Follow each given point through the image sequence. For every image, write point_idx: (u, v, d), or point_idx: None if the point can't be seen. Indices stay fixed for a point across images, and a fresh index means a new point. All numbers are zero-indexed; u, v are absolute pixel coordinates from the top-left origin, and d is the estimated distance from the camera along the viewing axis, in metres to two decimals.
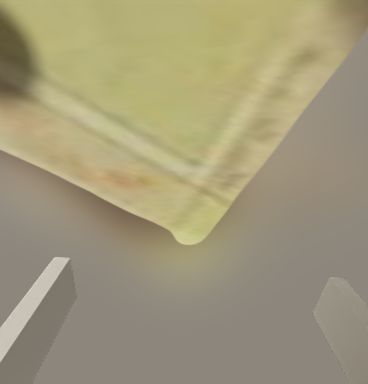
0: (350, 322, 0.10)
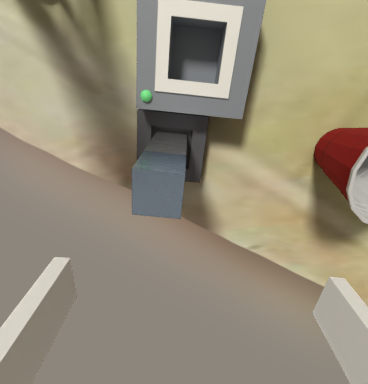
0: (350, 322, 0.10)
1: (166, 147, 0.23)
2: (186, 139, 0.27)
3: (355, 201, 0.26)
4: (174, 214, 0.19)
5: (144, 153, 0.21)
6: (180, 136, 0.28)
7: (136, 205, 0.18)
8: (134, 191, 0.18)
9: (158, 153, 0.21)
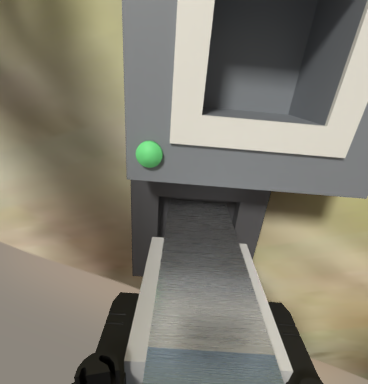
0: None
1: (206, 299, 0.09)
2: (235, 234, 0.13)
3: None
4: None
5: (150, 381, 0.06)
6: (218, 220, 0.14)
7: None
8: None
9: (193, 371, 0.07)
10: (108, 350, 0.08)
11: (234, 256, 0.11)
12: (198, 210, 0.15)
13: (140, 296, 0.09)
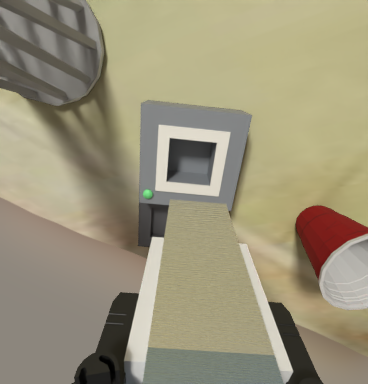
0: None
1: (205, 300, 0.09)
2: (235, 234, 0.13)
3: (328, 280, 0.30)
4: None
5: (150, 381, 0.06)
6: (218, 220, 0.14)
7: None
8: None
9: (193, 371, 0.07)
10: (108, 351, 0.08)
11: (234, 256, 0.11)
12: (198, 210, 0.15)
13: (140, 296, 0.09)
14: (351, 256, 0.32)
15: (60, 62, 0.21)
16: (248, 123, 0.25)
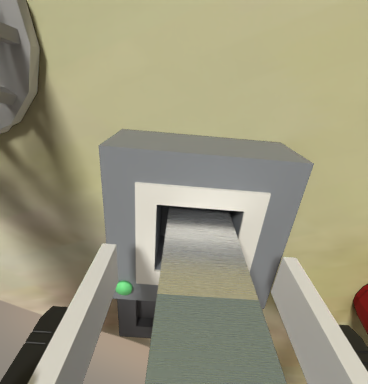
0: (295, 295, 0.11)
1: (203, 263, 0.11)
2: (229, 215, 0.15)
3: None
4: None
5: (160, 315, 0.08)
6: None
7: None
8: None
9: (194, 309, 0.08)
10: (18, 375, 0.07)
11: (228, 232, 0.13)
12: None
13: (67, 312, 0.09)
14: None
15: None
16: (305, 177, 0.13)
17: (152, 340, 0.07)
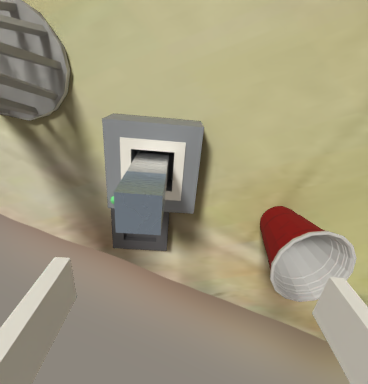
0: (350, 322, 0.10)
1: (148, 166, 0.25)
2: (168, 156, 0.29)
3: (284, 275, 0.33)
4: (155, 231, 0.20)
5: (126, 174, 0.22)
6: (163, 152, 0.30)
7: (119, 224, 0.20)
8: (117, 212, 0.19)
9: (139, 174, 0.23)
10: None
11: (164, 160, 0.27)
12: None
13: None
14: (307, 252, 0.35)
15: (24, 84, 0.24)
16: (201, 134, 0.28)
17: (123, 177, 0.22)
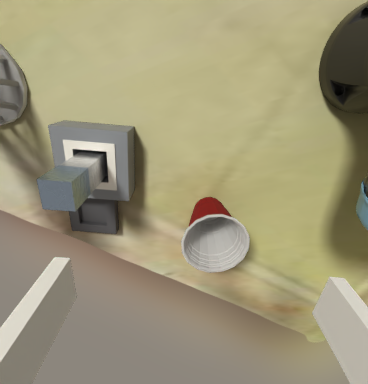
0: (350, 322, 0.10)
1: (78, 162, 0.33)
2: (103, 154, 0.37)
3: (203, 252, 0.40)
4: (71, 208, 0.28)
5: (56, 167, 0.30)
6: (101, 151, 0.38)
7: (44, 202, 0.28)
8: (41, 193, 0.27)
9: (66, 167, 0.30)
10: None
11: (96, 157, 0.35)
12: None
13: None
14: (226, 235, 0.42)
15: None
16: (126, 137, 0.35)
17: None
